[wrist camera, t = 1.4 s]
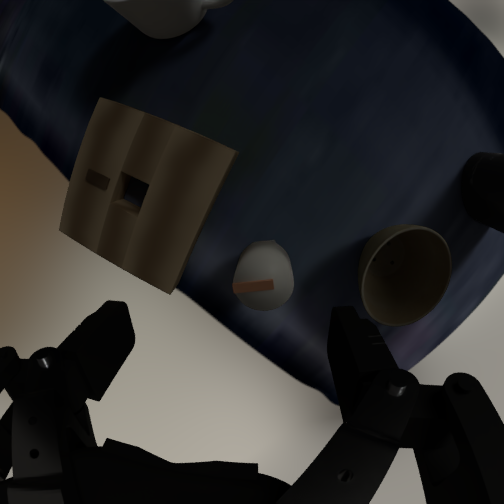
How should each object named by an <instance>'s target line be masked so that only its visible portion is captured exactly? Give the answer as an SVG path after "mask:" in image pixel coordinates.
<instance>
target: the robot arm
mask: <svg viewBox="0 0 504 504" xmlns="http://www.w3.org/2000/svg"><path fill="white" fill-rule="evenodd" d="M462 198H463V202H464V205H465V208H466V210H467V212H468V214H469V215H470V216H471V217H472V218H473V219H474V220H475V221H477V222H479V223H482V224H484V225H486V226H489V227H491V228H493V229H495V230H497V231H500V232H502V233H504V154H500V153H487V152H479V153H476V154H475V155H473V156H472V157H471V158H470V159H469V161H468V162H467V164H466V166H465V169H464V172H463V177H462ZM134 344H135V333H134V329H133V326H132V322H131V318H130V314H129V310H128V306H127V304H126V303H125V302H122V301H110V300H109V301H106V302H105V303H104V304H103V305H102V306H101V307H100V308H99V309H98V310H97V311H96V312H94V313H93V314H91V315H89V316H87V317H86V318H85V319H84V320H83V322H82V323H81V325H78V327H77V328H76V329H75V331H73V332H72V333H71V334H70V335H69V336H68V337H67V338H66V339H65V340H64V341H63V342H62V343H61V344H60V345H59V346H58V347H57V348H54V347H45V348H42V349H39V350H38V351H36V352H34V353H33V354H32V355H31V357H30V358H29V359H20V358H19V356H18V354H17V352H16V350H15V349H14V348H13V347H9V346H6V347H2V348H0V393H1V392H2V390H3V389H4V388H5V390H6V391H7V393H8V394H9V396H10V397H11V399H12V400H13V403H12V404H11V405H10V407H9V408H8V409H7V411H6V412H5V414H4V415H3V417H2V418H1V419H0V504H369V502H370V501H371V499H372V498H373V496H374V494H375V493H376V491H377V489H378V488H379V486H380V484H381V482H382V481H383V479H384V477H385V475H386V473H387V471H388V470H389V468H390V465H391V464H392V462H393V460H394V458H395V456H396V454H397V451H398V449H399V448H413V450H414V454H415V458H416V461H417V465H418V469H419V473H420V477H421V481H422V485H423V490H424V494H425V498H426V503H427V504H504V424H503V422H502V420H501V418H500V416H499V415H498V413H497V411H496V409H495V407H494V406H493V404H492V402H491V400H490V399H489V397H488V395H487V394H486V392H485V390H484V389H483V387H482V386H481V384H480V382H479V381H478V380H477V379H476V378H475V377H473V376H472V375H469V374H467V373H453V374H451V375H450V376H448V377H447V378H446V380H445V382H444V384H443V386H439V385H423V384H419V382H418V380H417V378H416V377H415V376H414V375H413V374H412V373H410V372H408V371H406V370H403V369H399V368H398V366H397V364H396V362H395V360H394V358H393V356H392V354H391V352H390V351H389V349H388V347H387V345H386V344H385V341H384V339H383V338H382V336H381V334H380V332H379V330H378V329H377V327H376V325H374V324H373V323H372V322H370V321H369V320H368V319H360V318H359V316H358V314H357V312H356V310H355V308H354V307H353V306H344V307H333V309H332V313H331V320H330V328H329V335H328V342H327V354H328V359H329V363H330V367H331V371H332V375H333V380H334V384H335V388H336V392H337V396H338V401H339V405H340V410H341V414H342V419H343V424H342V425H341V426H340V427H339V428H338V430H337V431H336V433H335V434H334V435H333V437H332V438H331V439H330V441H329V442H328V443H327V445H326V446H325V447H324V448H323V450H322V451H321V452H320V453H319V455H318V456H317V457H316V458H315V460H314V461H313V462H312V463H311V464H310V466H309V467H308V468H307V469H306V470H305V471H304V473H303V474H302V475H301V476H300V477H299V478H298V480H297V481H296V482H295V483H294V484H293V485H292V486H291V485H289V484H288V483H286V482H284V481H281V480H279V479H277V478H274V477H271V476H268V475H265V474H261V473H258V463H237V462H224V461H210V462H195V463H171V462H169V461H167V460H164V459H162V458H160V457H158V456H156V455H154V454H152V453H149V452H147V451H145V450H143V449H141V448H140V447H137V446H133V445H129V444H126V443H122V442H119V441H115V440H112V439H109V438H107V439H106V441H105V443H104V445H103V447H101V446H100V447H98V446H97V443H96V440H95V437H94V433H93V428H92V424H91V419H90V415H89V410H88V407H87V405H86V403H85V401H86V400H87V398H89V399H92V400H95V401H100V400H101V398H102V397H103V395H104V393H105V391H106V390H107V388H108V387H109V385H110V384H111V382H112V380H113V379H114V377H115V376H116V374H117V372H118V371H119V369H120V368H121V366H122V365H123V363H124V361H125V360H126V358H127V357H128V355H129V354H130V352H131V351H132V349H133V347H134ZM346 422H347V423H346ZM11 467H13V477H11V478H8V479H6V477H7V475H8V473H9V471H10V469H11ZM5 479H6V480H5Z"/></svg>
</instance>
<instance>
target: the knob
mask: <svg viewBox="0 0 504 504" xmlns="http://www.w3.org/2000/svg"><path fill="white" fill-rule="evenodd" d="M232 286H233V291H234V293H235V294H236V296H237V297H238V299H239V300H240V301H241V302H242V303H243V304H244V305H246V306H248V307H249V308H252V309H255V310H260V311H268V310H273V309H276V308H278V307H280V306H282V305H283V304H284V303H285V302H286V301H287V300H288V299H289V298H290V296H291V294H292V292H293V288H294V279H293V273H292V268H291V263H290V259H289V256H288V254H287V252H286V251H285V250H284V249H283V248H282V247H281V246H280V245H278V244H276V243H275V240H269V241H258V242H252V244H250V245H249V246H248V247H246V248H245V249H244V250H243V252H242V253H241V255H240V258H239V261H238V264H237V268H236V271H235V275H234V279H233V284H232Z"/></svg>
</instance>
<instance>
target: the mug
mask: <svg viewBox="0 0 504 504" xmlns="http://www.w3.org/2000/svg"><path fill="white" fill-rule="evenodd" d="M103 1H104V2H106V3H107V4H108V5H110V6H111V7H112V8H113V9H115V10H116V11H117V12H118V13H120V14H121V15H122V16H123V17H125V18H126V19H127V20H128V21H129V22H131V23H132V24H133V25H134V26H135V27H137V28H138V29H139V30H140V31H141V32H143V33H144V34H146V35H147V36H149V37H152V38H156V39H168V38H173V37H177V36H180V35H182V34H184V33H186V32H188V31H190V30H191V29H192V28H194V27H195V26H196V25H197V24H198V23H199V22H200V21H201V20H202V19H203V17H204V15H205V13H206V11H207V9H214V8H220V7H224V6H226V5H228V4H230V3H231V2H232V1H233V0H103Z"/></svg>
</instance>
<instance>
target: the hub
mask: <svg viewBox="0 0 504 504" xmlns="http://www.w3.org/2000/svg"><path fill="white" fill-rule="evenodd" d="M238 154H239V152H237V151H235V150H233V149H231V148H229V147H226V146H224V145H222V144H220V143H218V142H216V141H213V140H211V139H209V138H207V137H204V136H202V135H200V134H197V133H195V132H193V131H190V130H188V129H186V128H183V127H181V126H179V125H176V124H174V123H171V122H169V121H166V120H164V119H161V118H159V117H156V116H153V115H151V114H148V113H145V112H143V111H140V110H137V109H135V108H132V107H129V106H126V105H123V104H121V103H118V102H115V101H111V100H108V99H104V98H101V97H100V98H99V100H98V103H97V105H96V107H95V110H94V112H93V115H92V117H91V120H90V122H89V125H88V127H87V130H86V133H85V135H84V138H83V141H82V144H81V147H80V150H79V153H78V156H77V159H76V162H75V166H74V169H73V172H72V176H71V179H70V183H69V187H68V191H67V195H66V199H65V203H64V208H63V213H62V217H61V222H60V228H59V230H60V231H61V232H63V233H64V234H66V235H67V236H69V237H70V238H72V239H73V240H75V241H77V242H78V243H80V244H81V245H83V246H85V247H86V248H88V249H90V250H91V251H93V252H94V253H96V254H98V255H99V256H101V257H103V258H104V259H106V260H108V261H109V262H111V263H113V264H115V265H116V266H118V267H120V268H122V269H123V270H125V271H127V272H129V273H130V274H132V275H134V276H136V277H138V278H139V279H141V280H143V281H145V282H147V283H149V284H150V285H152V286H154V287H156V288H158V289H160V290H162V291H164V292H166V293H168V294H169V295H170V294H171V293H172V292H173V290H174V289H175V287H176V286H177V284H178V283H179V280H180V278H181V276H182V273H183V271H184V269H185V266H186V264H187V262H188V260H189V257H190V255H191V253H192V250H193V248H194V246H195V244H196V241H197V239H198V237H199V235H200V233H201V230H202V228H203V226H204V224H205V222H206V220H207V217H208V215H209V213H210V211H211V209H212V207H213V205H214V203H215V200H216V198H217V196H218V194H219V192H220V190H221V188H222V186H223V184H224V182H225V180H226V178H227V176H228V174H229V172H230V170H231V168H232V166H233V164H234V162H235V160H236V158H237V156H238ZM131 176H133V177H135V178H137V179H139V180H141V181H143V182H145V183H147V184H149V188H148V191H147V193H146V196H145V198H144V201H143V204H142V207H139V206H137V205H135V204H133V203H131V202H129V201H127V200H125V199H124V196H125V193H126V190H127V187H128V184H129V182H130V179H131Z"/></svg>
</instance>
